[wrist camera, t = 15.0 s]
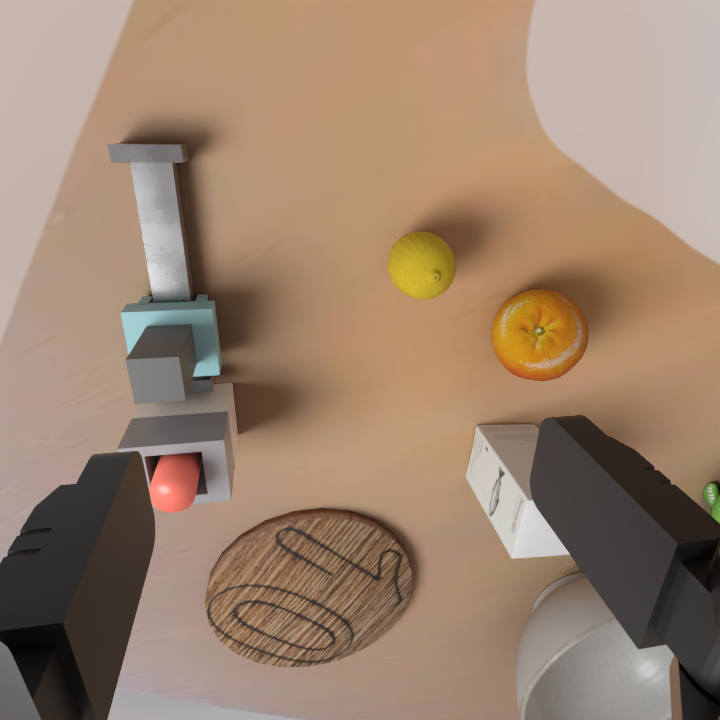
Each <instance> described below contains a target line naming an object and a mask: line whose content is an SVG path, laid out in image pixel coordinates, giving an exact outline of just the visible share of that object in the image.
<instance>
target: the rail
mask: <svg viewBox="0 0 720 720" xmlns="http://www.w3.org/2000/svg"><path fill="white" fill-rule="evenodd" d="M108 147H109V153H110V158H111V162H130V164H131V170H132V176H133V182H134V188H135V194H136V200H137V206H138V212H139V218H140V224H141V230H142V236H143V242H144V248H145V254H146V260H147V266H148V272H149V278H150V284H151V290H152V296H153V302H154V303H163V302H189V301H195V299H194V291H193V284H192V276H191V269H190V261H189V253H188V246H187V238H186V230H185V223H184V215H183V208H182V200H181V192H180V185H179V177H178V170H177V163H184V162H187V161H189V153H188V145H187V144H140V143H117V144H108ZM214 381H215V375H214V376H197V377H193V378H192V381H191V385H190V388H189V391H188V393H203V392H212V391H213V386H214Z"/></svg>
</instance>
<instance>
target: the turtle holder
mask: <svg viewBox="0 0 720 720" xmlns="http://www.w3.org/2000/svg"><path fill="white" fill-rule="evenodd" d="M703 495H704V498H705V500H706V502H707V503H708V504H709V505H710V506H711V507H712V510H711V516H712V517H713V518H714V519H715V520H716V521H718V522H719V523H720V494H719V490H718V486H717V484H716V483H713V482H711V483H709V484H708V485H707V486H706V487H705V488H704V491H703Z"/></svg>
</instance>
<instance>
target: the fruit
mask: <svg viewBox="0 0 720 720" xmlns="http://www.w3.org/2000/svg"><path fill="white" fill-rule="evenodd" d="M491 332H492V334H491V336H492V346H493V349H494V352H495V354H496V356H497V357H498V359H499V360H500V362H501V363H502V365H503V366H504V367H505V368H506V369H507V370H508V371H509V372H511V373H512V374H514V375H516V376H518V377H522V378H525V379H530V380H536V381H547V380H552V379H556V378H559V377H561V376H562V375H564V374H565V373H567V372H568V371H569V370H570V369H571V368H572V367H574V366H575V365H576V364H577V363H578V362H579V360H580V359H581V358H582V356H583V354H584V352H585V350H586V347H587V343H588V328H587V323H586V320H585V318H584V315H583V314H582V312H581V310H580V309H579V308H578V306H577V305H576V304H575V303H574V302H573V301H572V300H571V299H570V298H569V297H567V296H565V295H564V294H562V293H559V292H556V291H552V290H545V289H537V290H529V291H525V292H522V293H520V294H518V295H516V296H514V297H512V298H511V299H509V300H508V301H506V302H505V303H504V304H503V305H502V306H501V307H500V309H499V310H498V312H497V314H496V316H495V318H494V321H493V325H492V331H491Z"/></svg>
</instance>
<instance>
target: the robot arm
mask: <svg viewBox="0 0 720 720" xmlns="http://www.w3.org/2000/svg"><path fill="white" fill-rule="evenodd" d="M530 491H531V495H532V499H533V501H534V504H535V506H536V507H537V509H538V510H539V512H540V513H541V515H542V516H543V517H544V519H545V520H546V522H547V523H548V524H549V526H550V527H551V529H552V530H553V531H554V533H555V534H556V536H557V537H558V538H559V540H560V541H561V542H562V544H563V545H564V547H565V548H566V549H567V551H568V552H569V554H570V555H571V556H572V558H573V559H574V561H575V562H576V563H577V565H578V566H579V568H580V569H581V570H582V572H583V573H584V575H585V576H586V577H587V579H588V580H589V582H590V583H591V584H592V586H593V587H594V588H595V590H596V591H597V593H598V594H599V595H600V597H601V598H602V600H603V601H604V602H605V604H606V605H607V607H608V608H609V609H610V611H611V612H612V614H613V615H614V616H615V618H616V619H617V621H618V622H619V623H620V625H621V626H622V628H623V629H624V630H625V632H626V633H627V635H628V636H629V637H630V639H631V640H632V641H633V643H634V644H635V646H636V647H637V648H638V649H644V648H650V647H656V646H662V645H667V646H668V647H669V649H670V650H671V651H672V653H673V654H674V656H673V659H672V661H671V664H670V669H669V675H670V695H671V715H672V720H720V523H719V522H718V521H716V520H715V519H714V518H713V517H712V516H711V515H709V514H708V513H707V512H706V511H705V510H704V509H702V508H701V507H700V506H699V505H698V504H697V503H696V502H694V501H693V500H692V499H691V498H690V497H689V496H687V495H686V494H685V493H684V492H683V491H682V490H681V489H679V488H678V487H677V486H676V485H671V483H670V480H669V479H668V478H667V477H666V476H664V475H663V474H662V473H661V472H660V471H659V470H655V469H654V466H653V465H652V464H651V463H649V462H648V461H647V460H646V459H645V458H644V457H642V456H641V455H640V454H639V453H638V452H637V451H635V450H634V449H632V448H630V447H628V446H626V445H624V444H623V443H621V442H619V441H617V440H615V439H613V438H611V437H608V436H607V435H606V434H604V433H603V432H602V431H601V430H600V429H599V428H598V427H597V426H595V425H594V424H593V423H592V422H591V421H590V420H589V419H588V418H586V417H585V416H582V415H576V416H564V417H552V418H546V419H544V420H543V422H542V423H541V426H540V429H539V434H538V439H537V444H536V449H535V455H534V460H533V465H532V470H531V475H530ZM20 532H21V533H20V536H17V537H16V539H15V540H14V542H13V544H12V545H11V547H10V549H9V550H8V556H7V557H4V558H3V560H2V562H1V563H0V720H107V718H108V715H109V711H110V707H111V704H112V700H113V696H114V693H115V689H116V685H117V682H118V678H119V674H120V671H121V667H122V663H123V659H124V656H125V652H126V648H127V645H128V641H129V637H130V634H131V630H132V626H133V622H134V619H135V615H136V611H137V608H138V604H139V600H140V597H141V593H142V589H143V586H144V582H145V578H146V574H147V571H148V567H149V563H150V560H151V556H152V552H153V548H154V541H155V519H154V512H153V507H152V503H151V498H150V493H149V488H148V483H147V478H146V473H145V469H144V464H143V459H142V456H141V454H140V453H139V452H138V451H128V452H116V453H104V454H94V455H92V456H91V458H90V459H89V461H88V463H87V465H86V466H85V468H84V470H83V472H82V474H81V476H80V477H79V479H78V481H77V483H76V484H70V485H60V486H59V487H58V488H57V489H56V490H54V491H53V492H52V493H51V494H50V495H49V496H47V497H46V498H45V499H44V500H43V501H41V502H40V503H39V504H38V505H37V506H36V507H35V508H34V510H33V511H32V513H31V514H30V516H29V518H28V519H27V521H26V523H25V524H24V526H23V527H22V529H21V531H20Z"/></svg>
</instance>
